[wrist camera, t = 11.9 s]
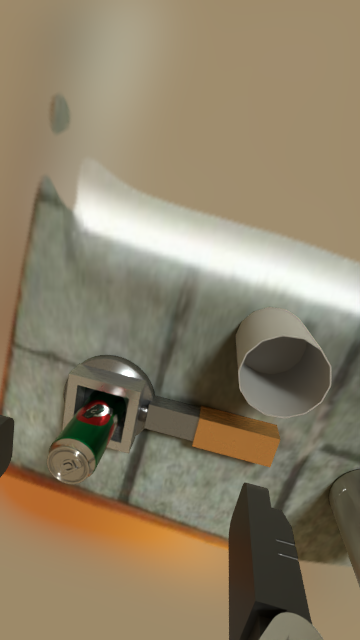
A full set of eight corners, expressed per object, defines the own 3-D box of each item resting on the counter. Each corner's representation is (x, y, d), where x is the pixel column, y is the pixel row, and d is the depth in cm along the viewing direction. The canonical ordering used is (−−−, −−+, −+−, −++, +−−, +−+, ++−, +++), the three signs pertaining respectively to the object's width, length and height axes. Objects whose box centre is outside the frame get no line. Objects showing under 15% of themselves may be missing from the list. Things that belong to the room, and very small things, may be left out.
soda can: (83, 391, 44) (33, 451, 33) (117, 380, 43) (77, 438, 32) (100, 423, 45) (58, 492, 34) (133, 413, 44) (101, 481, 33)
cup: (287, 382, 42) (305, 430, 32) (225, 358, 42) (224, 399, 32) (319, 321, 39) (348, 354, 30) (252, 296, 39) (260, 321, 30)
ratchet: (285, 399, 42) (292, 419, 38) (259, 474, 46) (262, 500, 42) (74, 345, 44) (57, 358, 40) (65, 421, 48) (49, 441, 44)
